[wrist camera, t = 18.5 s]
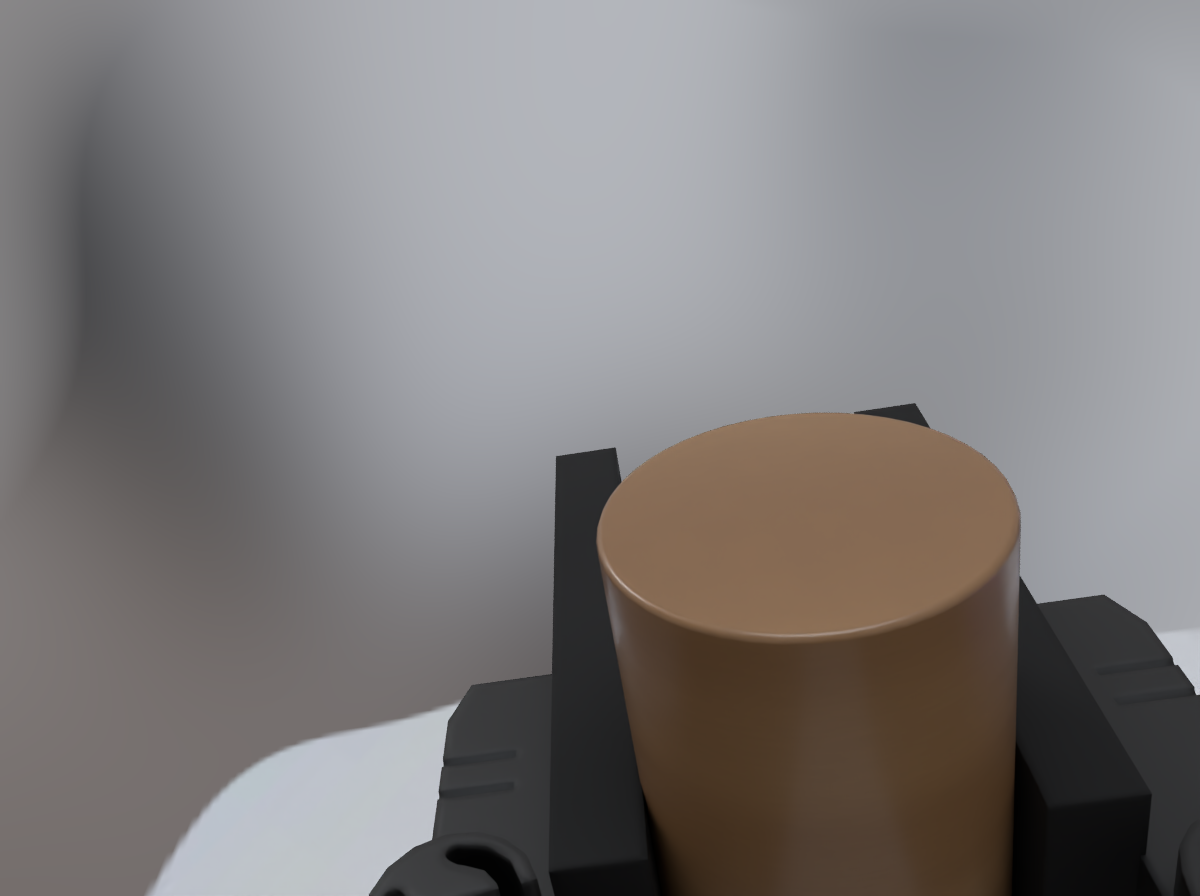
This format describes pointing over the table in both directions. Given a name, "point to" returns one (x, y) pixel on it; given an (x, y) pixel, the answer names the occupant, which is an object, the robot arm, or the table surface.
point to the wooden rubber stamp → (820, 658)
